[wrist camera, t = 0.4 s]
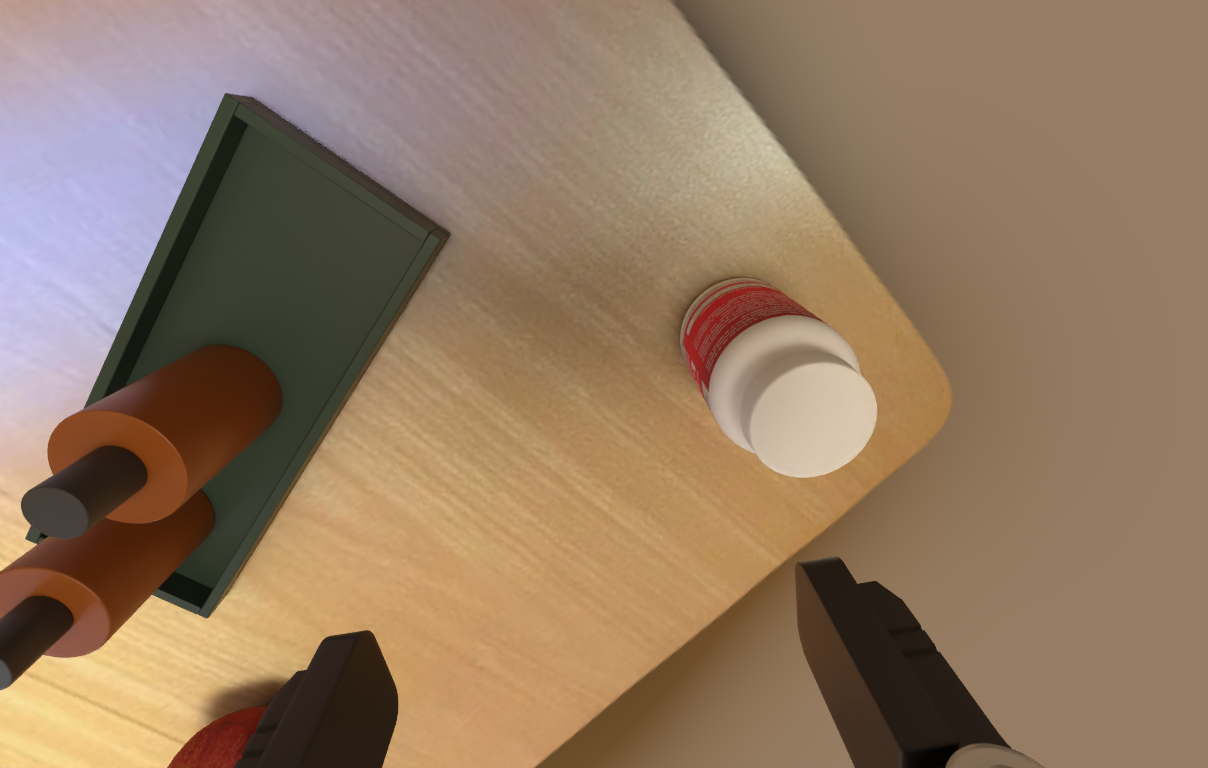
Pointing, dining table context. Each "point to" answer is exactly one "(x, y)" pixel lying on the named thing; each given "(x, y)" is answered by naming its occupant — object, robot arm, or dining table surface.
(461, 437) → the dining table surface
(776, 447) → the pill bottle
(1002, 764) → the robot arm
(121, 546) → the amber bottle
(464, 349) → the dining table surface
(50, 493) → the amber bottle middle
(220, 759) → the fruit
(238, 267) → the tray
